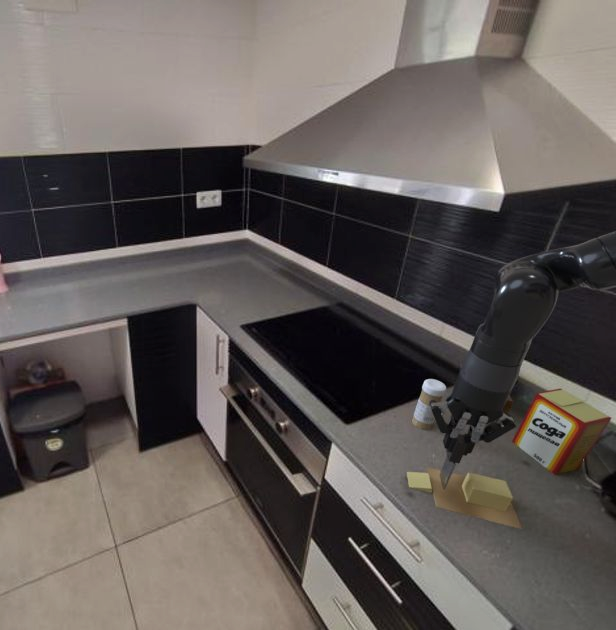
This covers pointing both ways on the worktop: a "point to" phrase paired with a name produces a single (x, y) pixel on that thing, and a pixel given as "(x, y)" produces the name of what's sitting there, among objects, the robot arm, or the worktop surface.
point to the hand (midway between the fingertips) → (455, 450)
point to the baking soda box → (560, 430)
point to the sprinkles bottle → (423, 409)
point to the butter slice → (419, 481)
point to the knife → (452, 460)
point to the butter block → (487, 492)
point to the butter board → (457, 502)
